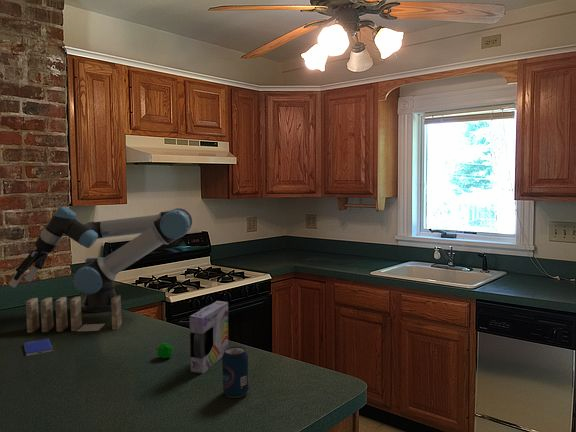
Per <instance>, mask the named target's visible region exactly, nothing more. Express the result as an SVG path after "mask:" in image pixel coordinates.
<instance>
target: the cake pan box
mask: <svg viewBox="0 0 576 432" xmlns="http://www.w3.org/2000/svg"><path fill="white" fill-rule="evenodd" d="M189 348H190V349H189V353H190V354H189V356H190V357H189V358H190V372H191V373H196V374H204V373H205V372H207V371H208V370H209V369H210V368H212V366H214V365H215V364H216V363H218V361H220V360H222V356H223V354H224V350H225V349H227V348H229V302H228V301H222V300H216V301H215V302H213V303H211V304H209V305H206V306H204V307H202V308H201V309H199V310H198V311H197V312H195V313H193V314H191V315H189Z"/></svg>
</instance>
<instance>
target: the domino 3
mask: <svg viewBox="0 0 576 432" xmlns="http://www.w3.org/2000/svg"><path fill="white" fill-rule="evenodd" d="M54 302H55V303H54V304H55V321H56V322H55V323H56V332H63V331H64V330H66V329H67V328H68V327H69V323H68V322H69V321H68V302H67V296H61V297H59V298H57V299H56V300H55V301H54Z"/></svg>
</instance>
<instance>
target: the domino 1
mask: <svg viewBox="0 0 576 432" xmlns="http://www.w3.org/2000/svg"><path fill="white" fill-rule="evenodd" d="M25 309H26V310H25V318H26V329H27V330H26V332H27V333H34V332H36V331H37V330H38V329H40V315H39V313H40V312H39V311H40V310H39V298H38V297H32V298H30V299H28V300H26V301H25Z"/></svg>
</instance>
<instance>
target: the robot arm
mask: <svg viewBox="0 0 576 432" xmlns="http://www.w3.org/2000/svg"><path fill="white" fill-rule="evenodd" d="M76 217H77V214H76V212H75V211H73V210H72V209H71V208H68V207H67V206H59V207H58V208H57V210H56V211H55V213H53V214H52V216H51V218H50V219H49V221H48V222H47V224H46V225H45V227H44V228H42V232H41V233H40V236H38V238H37V239H36V241H35V242H34V246H35V247H36V249H34V250H31V251H30V252H29V254H28V255H27V256H26V257H25V259H23V261H22V262H21V263H20V264H19V266H18V267H17V268H15V271H16V272H15V274H14V275H13V277H12V278H11V280H10V281H9V283H8V285H9V286H10V287H12V288H13V289H15V288H16V287H17V285H18V284H19V283H20V281H21V279H22V278H23V277H24V275H25V274H24V273H26V272H27V271H28V270H29V271H28V272H27V274H26V275H25V277H24V279H25V280H26V281H27V282H29V283H30V282H32V281H33V279H34V277H35V275H36V274H37V272H38V271H39V270H42V269H43V267H44V265H45V262H46V261H47V258H48V256H49V254H50V253H53V251H54V249H55V248H56V247H57V245H58V244H59V242H60V241H61V239H62V238H63V237H64V235H65V236H66V237H68V238H70V239H71V240H73V241H74V242H76V243H77V244H79V245H80V246H82V247H85V248H87V249H89V248H91V247H92V246H93V245H94V244H95V242H96V241H97V240H100V239H104V238H113V237H114V238H115V237H123V236H131V235H132V236H133V235H137V236H136V237H134V238H133V239H131V240H129V241H128V242H127V243H125V244H123V245H122V246H120V247H119V248H117V249H116V250H114V251H112V252H111V253H109V254H107V255H106V256H105V257H102V256H98V257H89V258H86V259H85V263H84V266H83V267H80V268H78V269H77V270H76V271H75V273H74V275H73V284H74V287H75V289H76V290H77V291H78V292H80V293H81V294H83V295H85V298H84V302H83V305H82V307H83V311H84V312H86V313H87V312H88V313H104V312H110V311H112V308H111V299H112V298H113V297H114V296H115V295H117V293H116V290H115V280H116V275H117V274H119V273H120V272H123V271H124V270H125V269H127V268H128V267H130V266H131V265H133V264H135V263H136V262H138V261H139V260H141V259H143V258H144V257H145V256H147V255H149V254H150V253H152V252H153V251H155V250H156V249H158V248H159V247H161V246H162V245H170V244H172V243H173V242H175V241H177V240H178V239H181V238H183V237H184V236H185V235H186V234H187V233H189V231H190V229H191V228H192V224H193V219H192V216H191V214H190V212H189V211H187V210H186V209H185V208H184V209H183V208H174V209H171V210H166V211H160V212H159V213H158V214H153V215H152V214H151V215H144V216H134V217H127V218H117V219H109V220H102V221H88V222H86V223H84V224H83V223H82V222H80V221H79V220H77V219H76ZM31 266H32V267H31Z"/></svg>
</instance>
